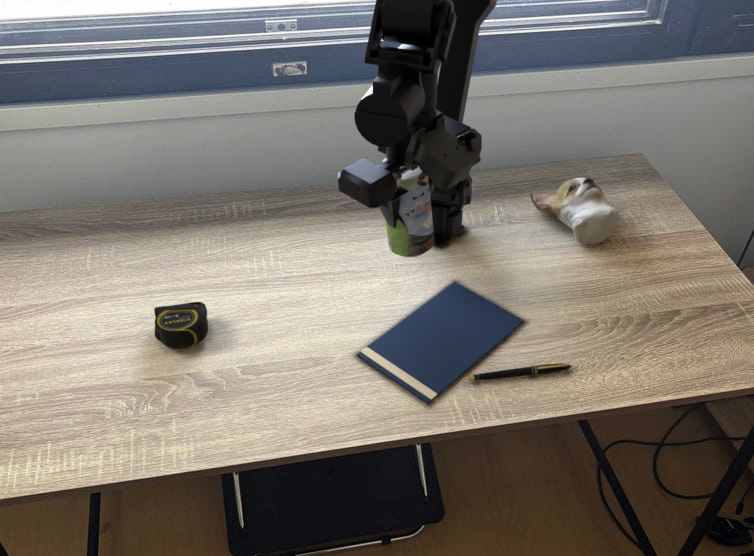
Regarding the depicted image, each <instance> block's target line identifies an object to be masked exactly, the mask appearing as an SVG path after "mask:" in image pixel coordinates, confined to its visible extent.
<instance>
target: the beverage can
mask: <svg viewBox="0 0 754 556" xmlns="http://www.w3.org/2000/svg"><path fill="white" fill-rule="evenodd" d="M401 187H403V188H405V189H407V190H408V191H409V192H408V193H406V194H404V195H403V196H401V197H400V206H399V216H398V220H397V224H396V228H392V227H390V226H389V225H388V223H387V221H386V219H385V218H384V221H385V228H386V233H387V241H388V248H389V250H390V251H391V252H392V253H393V254H395V255H397V256H400V257H403V258H417V257H421V256H423V255H424V254H425V253H427V252H429V251H430V249H432V248H433V247H434V246H435V245H434V231H433V220H432V210H431V199H430V189H429V179H428V176H427V175H426V174H425V173H424V172H423V171H422V170H421V169H420V168H419V166H418V168H417V169H415V170H413V171H412V170H409V171H408V172H406V173H404V174H403V175H402V179H401Z"/></svg>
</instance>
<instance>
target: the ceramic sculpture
mask: <svg viewBox="0 0 754 556" xmlns="http://www.w3.org/2000/svg"><path fill="white" fill-rule="evenodd" d="M529 196H530V199H531V200H530V201H531V202H532V204H533V206H534V207H535V208H536V209H537V211H538V212H540V213H541V214H543V215H545V216H549V217H551V218H555V219H558V220H559V221H561V222H562V223H563V224H564V225H566V226H568V227H569V229H571V230H572V231H573V235H574V237H575V239H576V241H577V242H578V243H579V244H583V245H597V244H599V243H601V242H602V241H604V240H605V239H608V238H609V237H610V236H611V235H612V234H613V233H614V232H615V230H616V228H617V225H618V222H619V220H620V218H621V217H620V214H619V210H618V209H617V208H616V207H614V206H611V205H609V202H608V200H607V197H606V195H605V193H604V192H603V190H602V187H601V186H600V185H599V184H598V183H597V182H596V181H594V180H593V178H590V177H589V178H588V177H576V178H575V177H574V178H570V179H568V180H566V181H564V182H563V183H561V185H560V186H559V188H558V190H557V192H556V194H555V195H551V194H545V193H544V194H536V193H533V192H529Z"/></svg>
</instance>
